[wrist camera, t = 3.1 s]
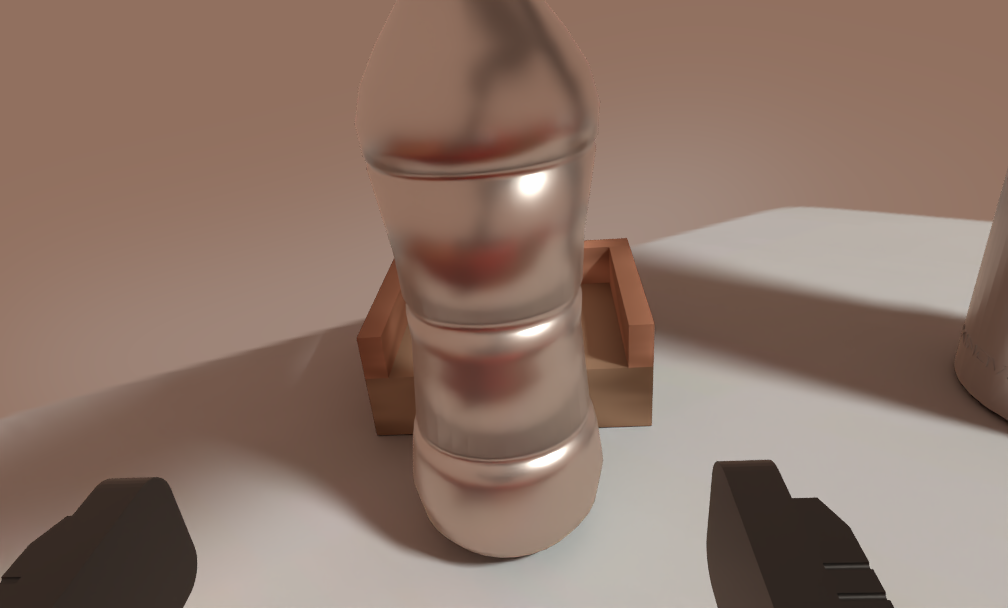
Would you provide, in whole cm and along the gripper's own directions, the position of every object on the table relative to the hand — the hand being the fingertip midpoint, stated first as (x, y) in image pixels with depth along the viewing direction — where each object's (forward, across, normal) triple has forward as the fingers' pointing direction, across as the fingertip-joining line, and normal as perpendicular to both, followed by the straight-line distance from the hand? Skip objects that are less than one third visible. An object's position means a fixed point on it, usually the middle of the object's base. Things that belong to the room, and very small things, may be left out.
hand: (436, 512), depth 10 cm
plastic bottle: (+11, 0, +11) cm, 16 cm away
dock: (+20, 0, +11) cm, 23 cm away
